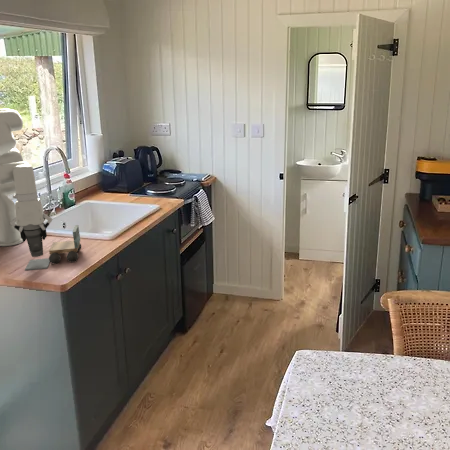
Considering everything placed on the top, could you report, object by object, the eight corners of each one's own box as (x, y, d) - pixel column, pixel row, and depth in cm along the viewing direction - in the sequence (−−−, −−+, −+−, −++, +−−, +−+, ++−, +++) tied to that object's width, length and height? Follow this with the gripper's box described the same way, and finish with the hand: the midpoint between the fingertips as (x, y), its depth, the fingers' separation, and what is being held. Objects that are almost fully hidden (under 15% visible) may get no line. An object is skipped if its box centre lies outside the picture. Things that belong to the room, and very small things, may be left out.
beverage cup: (40, 258, 198) (32, 210, 192) (24, 257, 199) (15, 210, 193) (50, 251, 205) (42, 205, 198) (34, 251, 206) (26, 204, 200)
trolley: (49, 264, 203) (45, 235, 200) (55, 252, 216) (50, 225, 212) (78, 261, 205) (74, 233, 201) (82, 250, 217) (78, 223, 213)
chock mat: (25, 270, 198) (24, 269, 198) (30, 261, 208) (30, 259, 207) (47, 268, 199) (47, 267, 199) (51, 259, 209) (51, 257, 209)
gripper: (1, 200, 190) (9, 244, 195) (48, 197, 192) (55, 240, 198) (6, 196, 197) (14, 238, 202) (51, 192, 199) (58, 234, 205)
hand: (34, 239), depth 200 cm, fingers closed on beverage cup, 6 cm apart
